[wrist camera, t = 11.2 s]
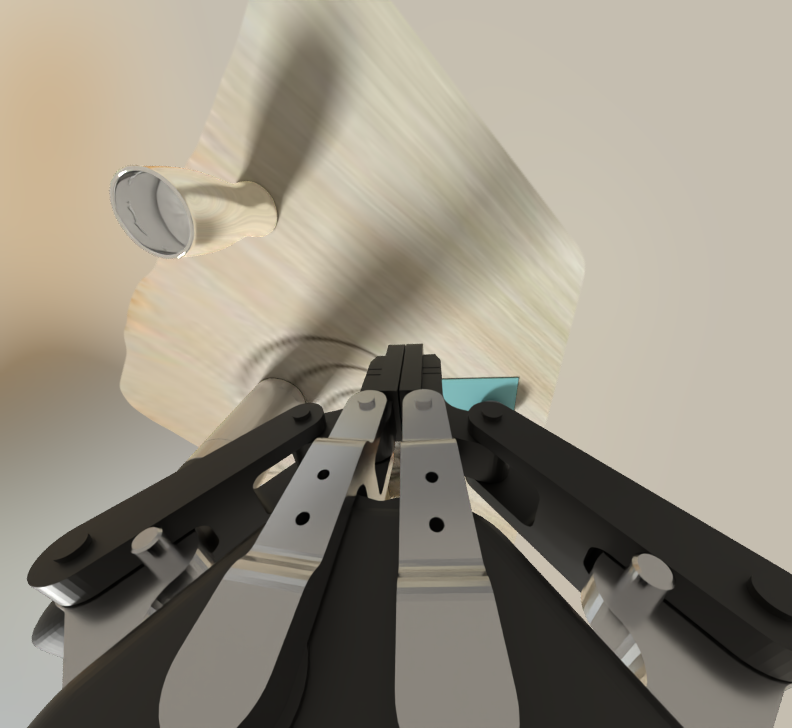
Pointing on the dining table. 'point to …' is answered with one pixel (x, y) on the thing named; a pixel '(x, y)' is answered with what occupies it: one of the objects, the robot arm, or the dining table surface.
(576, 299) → the dining table surface
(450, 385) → the teal mark
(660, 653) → the robot arm
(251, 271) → the dining table surface
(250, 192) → the beer glass
